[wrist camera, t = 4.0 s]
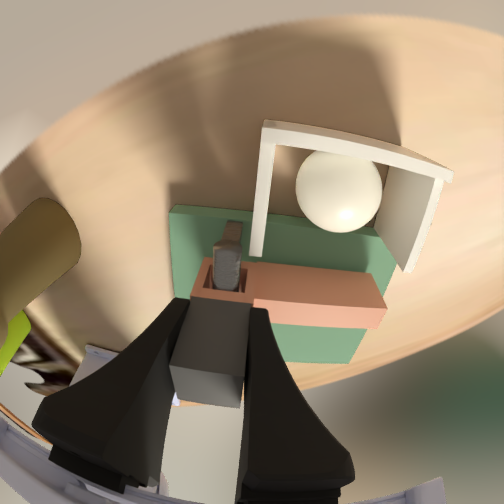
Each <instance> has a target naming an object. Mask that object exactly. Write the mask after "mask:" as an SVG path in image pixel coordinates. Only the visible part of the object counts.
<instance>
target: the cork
mask: <svg viewBox="0 0 504 504" xmlns="http://www.w3.org/2000/svg"><path fill="white" fill-rule="evenodd" d="M80 255H81V242H80V237H79V233H78V230H77V228H76V226H75V224H74V221H73V220H72V218H71V217H70V216H69V214H68V213H67V211H66V210H65V209H64V208H63V207H62V206H60V205H59V204H58V203H57V202H55V201H53V200H51V199H49V198H39V199H37V200H35V201H34V202H32V203H31V204H30V205H29V206H28V207H27V208H26V209H25V210H24V211H23V212H22V213H21V214H20V215H19V216H18V217H17V218H16V219H14V220H13V221H12V222H11V223H10V225H9V226H8V227H7V228H6V229H5V230H4V231H3V232H2V233H1V234H0V349H1V348H2V346H3V345H4V343H5V341H6V338H7V335H8V323H9V322H10V321H11V320H12V319H13V318H14V317H15V316H16V315H17V314H18V313H19V312H20V311H21V310H22V309H24V308H25V307H26V306H27V305H28V304H29V303H30V302H31V301H32V300H34V299H35V298H36V297H37V296H38V295H39V294H40V293H42V292H43V291H44V290H45V289H46V288H47V287H49V286H50V285H51V284H52V283H53V282H55V281H56V280H57V279H58V278H60V277H61V276H62V275H63V274H64V273H66V272H67V271H68V270H69V269H71V268H72V267H73V266H74V265H75V264H77V263H78V260H79V258H80Z"/></svg>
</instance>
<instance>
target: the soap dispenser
mask: <svg viewBox="0 0 504 504" xmlns="http://www.w3.org/2000/svg"><path fill="white" fill-rule="evenodd" d="M30 330H31V324H30V322H29V319H28V317H27V316H26V314H25V313H24V311H23V310H21V311H20V312H19V313H18V314H17V315H16V316H15V317H14V318H13V319H12V320H11V321H10V322H9V323H8V335H7V338H6V341H5V343H4V345H3V346H2V348H1V349H0V376H1V375H2V373H3V371H4V370H5V368H6V366H7V365H8V363H9V361H10V360H11V358H12V357H13V355H14V354H15V352H16V351H17V349H18V348H19V346H20V345H21V343H22V342H23V340H24V339H25V337H26V336H27V334H28V333H29V331H30Z"/></svg>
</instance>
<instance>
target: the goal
mask: <svg viewBox="0 0 504 504" xmlns="http://www.w3.org/2000/svg"><path fill="white" fill-rule="evenodd" d="M276 144H277V145H285V146H292V147H299V148H306V149H312V150H318V151H324V152H330V153H335V154H340V155H345V156H350V157H355V158H360V159H364V160H369V161H373V162H377V163H382V164H386V165H390V166H389V170H388V175H387V179H386V183H385V187H384V191H383V195H382V199H381V202H380V206H379V210H378V213H377V217H376V220H375V224H374V227H373V228H374V229H375V231H376V232H377V234H378V235H379V237H380V238H381V239H382V241H383V242H384V244H385V245H386V247H387V248H388V250H389V251H390V253H391V254H392V256H393V257H394V259H395V260H396V262H397V264H398V265H399V267H400V268H401V270H402V271H403V272H406V273H412V271H413V269H414V266H415V264H416V262H417V259H418V257H419V254H420V252H421V249H422V247H423V244H424V241H425V239H426V236H427V233H428V231H429V228H430V225H431V222H432V219H433V216H434V213H435V210H436V207H437V204H438V201H439V197H440V194H441V191H442V187H443V183H444V181H445V182H448V183H451V182H452V178H453V174H454V171H452V170H450V169H448V168H446V167H444V166H443V165H441V164H439V163H437V162H435V161H433V160H430V159H428V158H426V157H424V156H422V155H420V154H418V153H416V152H413V151H411V150H409V149H407V148H404V147H402V146H399V145H395V144H392V143H388V142H384V141H381V140H377V139H373V138H369V137H365V136H361V135H356V134H352V133H347V132H343V131H338V130H333V129H328V128H322V127H317V126H311V125H305V124H298V123H291V122H284V121H276V120H267V119H264V123H263V126H262V133H261V145H260V154H259V163H258V173H257V182H256V192H255V201H254V211H253V220H252V230H251V240H250V249H249V256H256V257H262V249H263V241H264V234H265V226H266V218H267V210H268V202H269V195H270V187H271V179H272V170H273V162H274V154H275V146H276Z"/></svg>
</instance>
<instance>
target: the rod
mask: <svg viewBox="0 0 504 504" xmlns="http://www.w3.org/2000/svg"><path fill="white" fill-rule="evenodd" d="M242 230H243V222H241V221H232V220H227V223H226V226H225V229H224V232H223V235H222V238H221V241H218V242H216V243H215V244H214V246H213V289H214V290H223V291H231V292H239V282H240V270H241V259H242V245H241V244H240V243H241V238H242Z"/></svg>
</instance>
